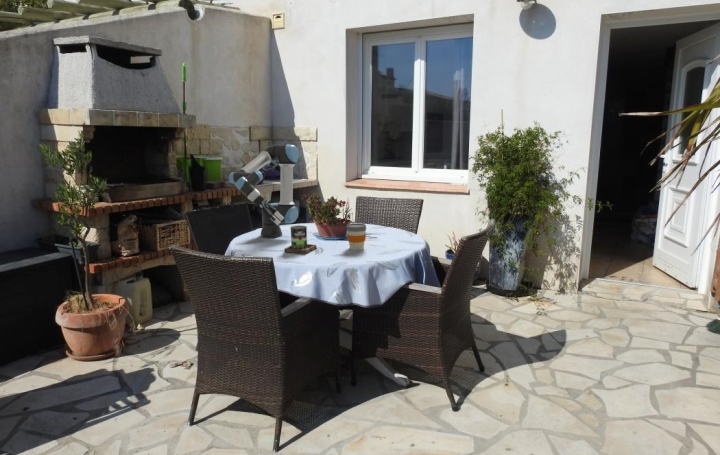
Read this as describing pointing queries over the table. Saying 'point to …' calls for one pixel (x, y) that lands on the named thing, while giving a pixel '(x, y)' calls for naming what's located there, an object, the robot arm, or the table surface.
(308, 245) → the wooden tray
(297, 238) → the coffee can
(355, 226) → the reusable coffee cup
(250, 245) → the table surface
